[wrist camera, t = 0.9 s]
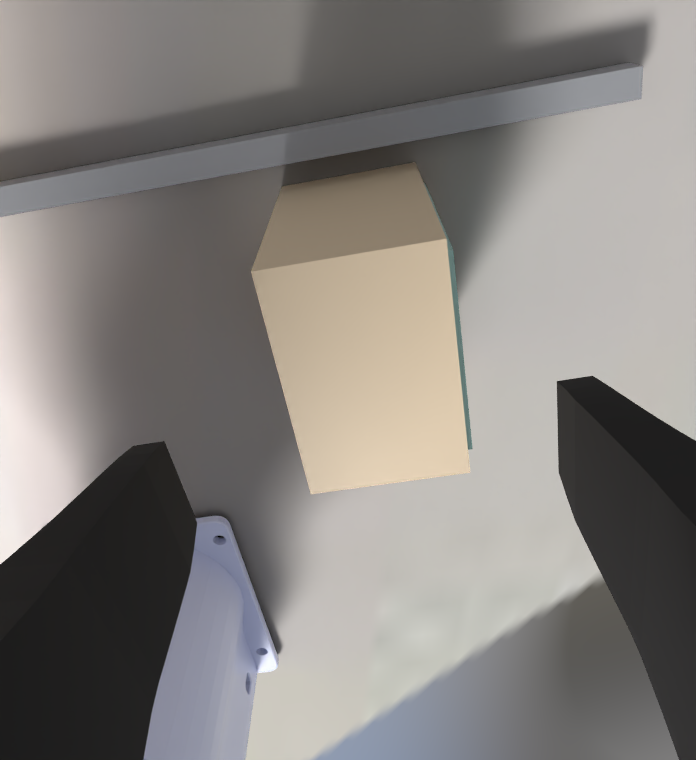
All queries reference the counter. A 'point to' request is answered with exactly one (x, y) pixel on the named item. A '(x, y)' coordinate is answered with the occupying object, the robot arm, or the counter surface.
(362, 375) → the box
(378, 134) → the pair of grey rails
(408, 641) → the counter surface
